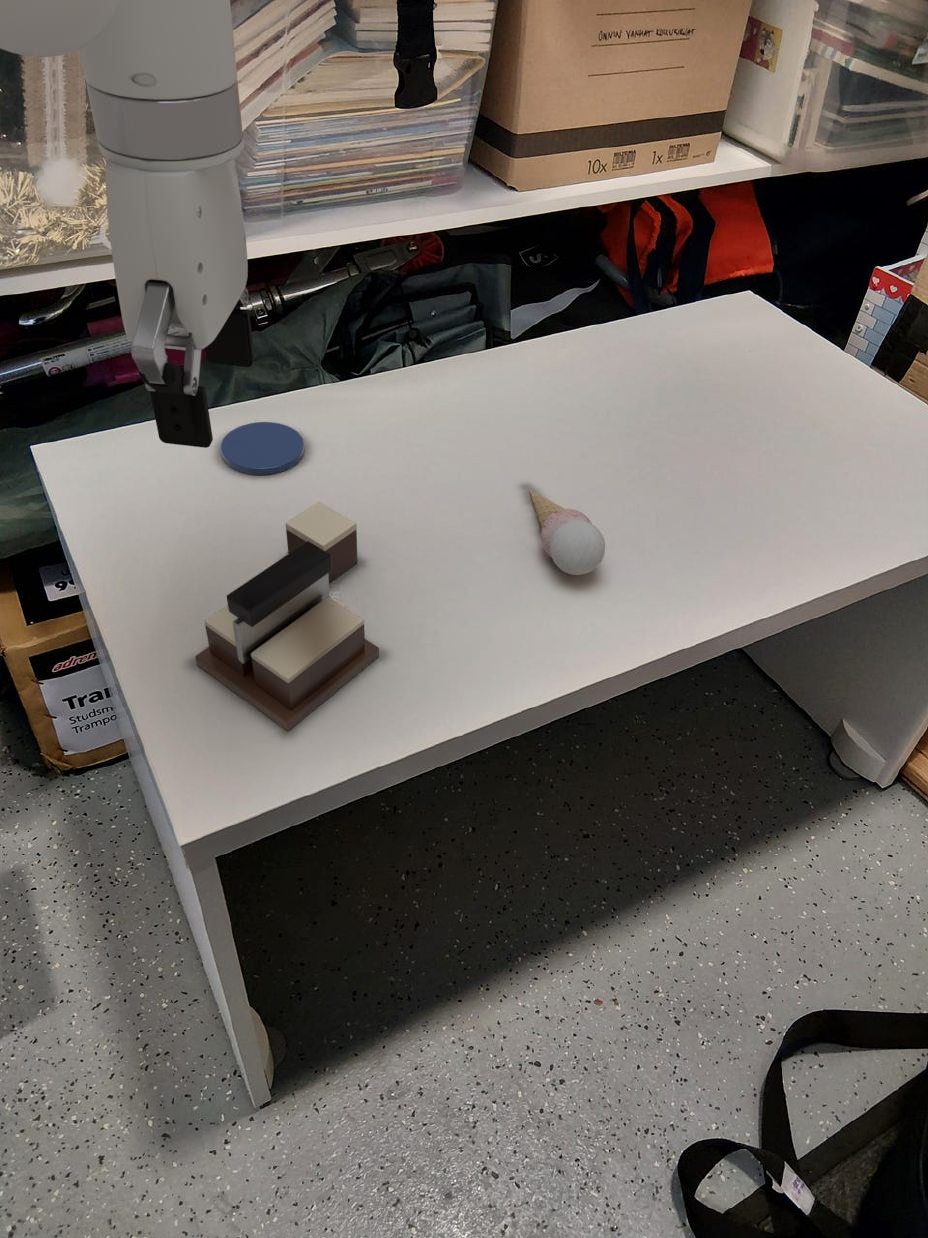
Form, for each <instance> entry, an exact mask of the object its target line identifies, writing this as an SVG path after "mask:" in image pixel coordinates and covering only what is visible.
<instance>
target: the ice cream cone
mask: <svg viewBox="0 0 928 1238" xmlns="http://www.w3.org/2000/svg"><path fill="white" fill-rule="evenodd" d="M528 490H529V493H530V497H531V500H532V503H533V506H534V509H535V512H536V516H537V518H538V522H539V524H540V527H541V532H540V541H541V545H542V547H543V549H544V551H545V553H546V554H547V555H548V556H549V557H550V558H551V559H552V561H553V563H554V564H555V566H556V567H557V568H558V569H559V570H561V571H562V572H564V573H566V574H568V575H573V576H582V575H586V574H588V573H590V572H593V571H594V570H595V569H597V568H598V567H599V566H600V564H601V563H602V561H603V559H604V558H605V557H604V556H605V553H606V541H605V538H604V536H603V534H602V532H601V531H600V529H599V528H598V527H597V526H596V525H594V523H592V521H591V520H590V518H589V517H588V516H587V515H586V514H585V513H583V512H582V511H580V510H577V509H574V508H564V507H563V506H561V505H559V504H557V503H555V502H553V501H552V500H549V499H548V498H546V497H544V496H542V495H541V494H539V493H537V492H536V491H533V490H531V489H528Z"/></svg>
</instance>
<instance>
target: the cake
mask: <svg viewBox="0 0 928 1238" xmlns="http://www.w3.org/2000/svg"><path fill="white" fill-rule="evenodd" d="M237 618H238V617H236V616H235V615H233V614H232V613H230V612H229V609H228V604H226V605H225V606H223V607H221V609H219V610H217V611H216V612H215V613H213V614H212V615H210V616H208V617H206V619H204V621H203V623H204V627H205V628H204V629H205V632H206V633H205V634H206V637H207V642H208V646H207V647H206V648H205V649H203V650H202V651H201V652H199V653H198V654H196V655H195V656H194V657H195V662H196V665H197V666H198V667H199V668H200V669H202V670H204V671H205V672H206V673H208V674H209V675H210V676H211V677H213V678H214V679H216V680H217V681H219V682H220V683H221V684H222V685H224V686H225V687H227V688H228V689H230V690H231V691H232V692H234V693H235V694H237V696H239V697H240V698H242V699H243V700H244V701H246V702H247V703H249V704H250V705H252V706H253V707H254V708H255V709H257V710H258V711H260V712H261V713H262V714H264V715H265V716H267V718H269V719H271V720H272V721H273V722H275V723H276V724H277V725H279V727H282V728H283V729H284V730H286V731H287V732H289V731H290V730H292V728H294V727H295V726H296V725H298V724H299V723H300V722H301V721H302V720H304V719H306V717H307V716H309V715H310V714H311V713H312V712H313V711H315V710H316V709H317V708H318V707H319V706H321V705H322V704H323V703H324V702H325V701H327V700H329V698H331V697H332V696H333V695H334V694H335V693H336V692H338V691H339V690H340V689H341V688H342V687H344V686H345V685H346V684H347V683H348V682H350V681H351V680H352V679H354V678H355V677H356V676H357V675H358V674H360V673H361V672H362V671H363V670H364V669H365V668H367V667H368V666H369V665H370V664H371V663H373V662H374V661H375V660H376V659H377V658H379V657H380V647H379V646H377V645H376V644H374V643H372V642H371V641H369V640H368V639H366V637H365V636H366V635H365V619H364V618H363V617H361V616H360V615H358V614H356V613H355V612H354V611H352V610H351V609H349V608H347V607H346V606H344V605H342V604H341V603H339V602H338V601H336V600H335V599H333V598H332V597H331V596H330V597H327V598H325V599H324V600H323V601H321V602H320V603H319V604H317V605H316V606H315V607H313V608H312V609H310V610H309V611H308V612H306V613H305V614H304V615H302V616H301V617H300V618H298V619H297V620H295V621H294V622H293V623H291V624H290V625H289V626H287V627H286V628H285V629H283V630H282V631H280V632H279V633H278V634H276V635H275V636H274V637H272V638H271V639H270V640H268V641H267V642H266V643H264V644H263V645H261V646H260V647H259V648H257V649H256V650H255V651H253V652H252V653H251V659H250V660H248V661H247V662H245V663H244V664H243V663H242V662H240V661H239V660H238V654H237V648H236V642H235V635H234V629H233V623H232V622H233V621H234V620H236V619H237Z"/></svg>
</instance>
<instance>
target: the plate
mask: <svg viewBox="0 0 928 1238" xmlns="http://www.w3.org/2000/svg"><path fill="white" fill-rule="evenodd" d="M304 452H305V444H304V439H303V437H302V436H301V434H300V433H299V432H298V431H297V430H296V429H294V428H293V427H291V426H288V425H286V424H282V423H279V422H278V423H277V422H271V421H258V422H251V423H246V424H243V425H240V426H238V427H236V428H234V429H232V430H230V431H229V432H228V433H227V434H226V435H224V437H223V439H222V441H221V444H220V453H221V457H222V459H223V461H224V463H225V464H226V465H227V466H228V467H229V468H230V469H233V470H234V471H237V472H239V473H242V474H247V475H253V476H268V475H269V476H270V475H274V474H279V473H282V472H285V471H287V470H290V469H291V468H293V467H294V466H296V465H297V464H298V463H299V462H300V461H301V460H302V458H303V456H304Z"/></svg>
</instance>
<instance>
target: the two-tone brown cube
mask: <svg viewBox="0 0 928 1238" xmlns="http://www.w3.org/2000/svg"><path fill="white" fill-rule="evenodd" d="M285 533H286V544H287V545H286V546H287V555H288V554H289V553H291V552H292V551H294V550H295V549H297V548H298V547H300V546H301V545H303V544H304V543H305V542H307V541H309V542H311V543H312V544H314V545H316V546H317V547H319V548H321V549H322V550H324V551H326V552H327V553H329V554H330V555H331V565H332V571H330V572H329V573H328V575H329V584H330V583H332V582H333V581H335V580H336V579H338V578H339V577H340V576H341V575H343V574H344V573H346V572H347V571H349V570H350V569H351V568H353V567H354V566H355V565H357V564H358V537H357V536H358V530H357V523H356V522H355V521H353V520H352V519H350V518H348V517H347V516H345V515H343V514H341V513H340V512H338V511H336V510H334V509H333V508H331V507H330V506H328V505H325V504H324V503H322V502H321V501H317V502H316V503H314V504H312V505H311V506H309V507H308V508H306V509H305V510H304V511H302V512H300V513H299V514H297V515H295V516H294V517H292V518H291V519H289V520H288V521H286V522H285Z"/></svg>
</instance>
